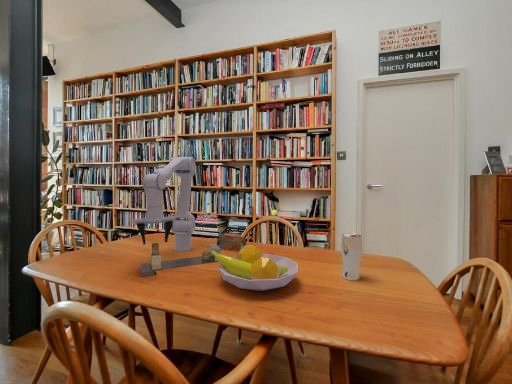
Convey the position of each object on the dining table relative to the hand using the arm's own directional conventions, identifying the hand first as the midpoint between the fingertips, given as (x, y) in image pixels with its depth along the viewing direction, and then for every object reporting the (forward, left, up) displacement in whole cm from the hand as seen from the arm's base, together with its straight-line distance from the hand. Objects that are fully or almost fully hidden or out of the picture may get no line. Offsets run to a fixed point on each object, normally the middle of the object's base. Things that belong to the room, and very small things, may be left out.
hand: (155, 242), depth 100 cm
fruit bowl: (+26, +29, -11) cm, 40 cm away
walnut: (0, +20, -9) cm, 21 cm away
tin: (-9, +34, -11) cm, 37 cm away
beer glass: (+37, +61, -11) cm, 72 cm away
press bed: (0, +10, -10) cm, 14 cm away
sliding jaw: (0, 0, -9) cm, 9 cm away
